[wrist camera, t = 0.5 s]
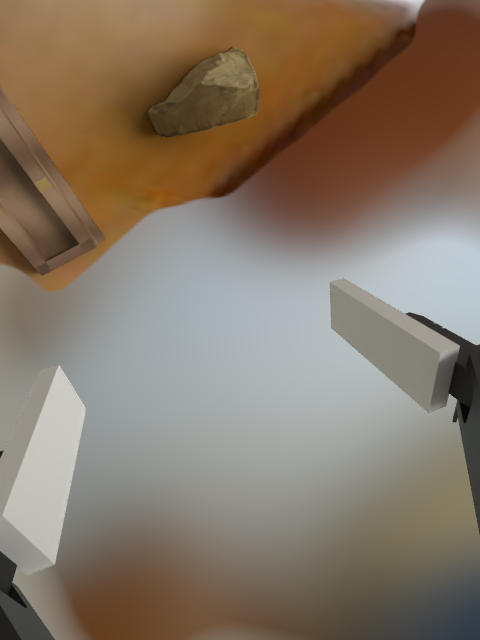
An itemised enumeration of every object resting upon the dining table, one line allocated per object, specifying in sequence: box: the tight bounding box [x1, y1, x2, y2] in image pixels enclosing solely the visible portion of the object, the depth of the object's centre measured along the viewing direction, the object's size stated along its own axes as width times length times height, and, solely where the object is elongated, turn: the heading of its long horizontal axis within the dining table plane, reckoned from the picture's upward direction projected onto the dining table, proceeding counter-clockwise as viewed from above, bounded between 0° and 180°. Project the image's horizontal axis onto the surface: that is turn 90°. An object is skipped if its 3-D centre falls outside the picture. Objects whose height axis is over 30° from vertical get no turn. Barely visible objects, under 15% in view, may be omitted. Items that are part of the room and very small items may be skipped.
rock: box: [148, 47, 260, 137], centre depth 29 cm, size 11×9×10 cm
